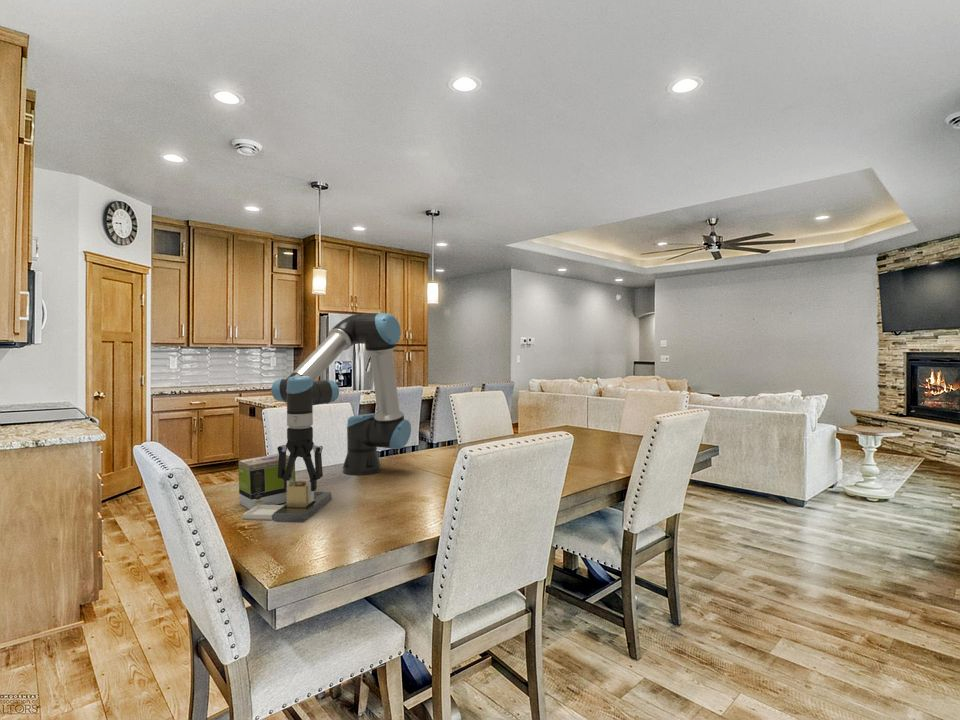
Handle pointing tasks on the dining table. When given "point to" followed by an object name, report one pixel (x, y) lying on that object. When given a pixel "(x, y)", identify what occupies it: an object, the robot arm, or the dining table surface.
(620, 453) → the dining table surface
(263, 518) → the tray
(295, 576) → the dining table surface
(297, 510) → the rail
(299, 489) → the brass rectangular block
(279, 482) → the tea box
